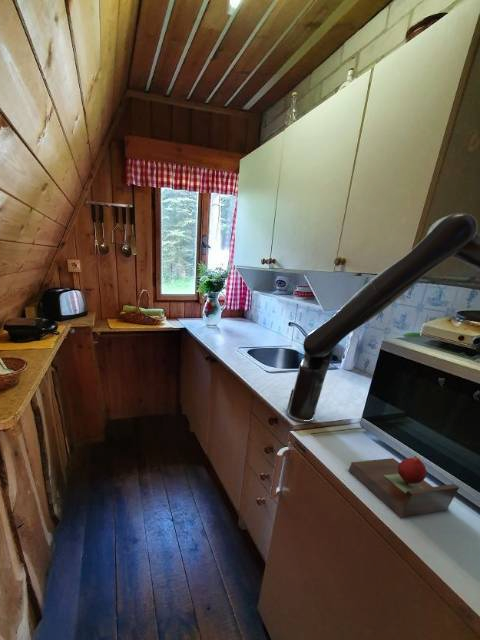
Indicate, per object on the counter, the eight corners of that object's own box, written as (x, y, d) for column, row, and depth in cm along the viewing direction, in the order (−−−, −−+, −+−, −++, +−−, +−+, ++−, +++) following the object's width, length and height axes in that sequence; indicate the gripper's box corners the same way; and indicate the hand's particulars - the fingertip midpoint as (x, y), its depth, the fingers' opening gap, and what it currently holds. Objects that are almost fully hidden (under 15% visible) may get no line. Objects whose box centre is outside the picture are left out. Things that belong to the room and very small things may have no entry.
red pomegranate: (411, 477, 81) (423, 451, 78) (425, 492, 75) (438, 465, 72) (389, 473, 81) (400, 448, 78) (400, 488, 76) (413, 462, 73)
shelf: (348, 470, 86) (355, 450, 83) (389, 466, 90) (398, 446, 88) (400, 517, 71) (412, 494, 68) (447, 509, 75) (459, 487, 73)
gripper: (476, 330, 81) (426, 371, 82) (545, 345, 68) (486, 393, 69) (480, 350, 84) (433, 388, 85) (547, 368, 71) (491, 413, 73)
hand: (457, 390), depth 77 cm, fingers open, 8 cm apart
